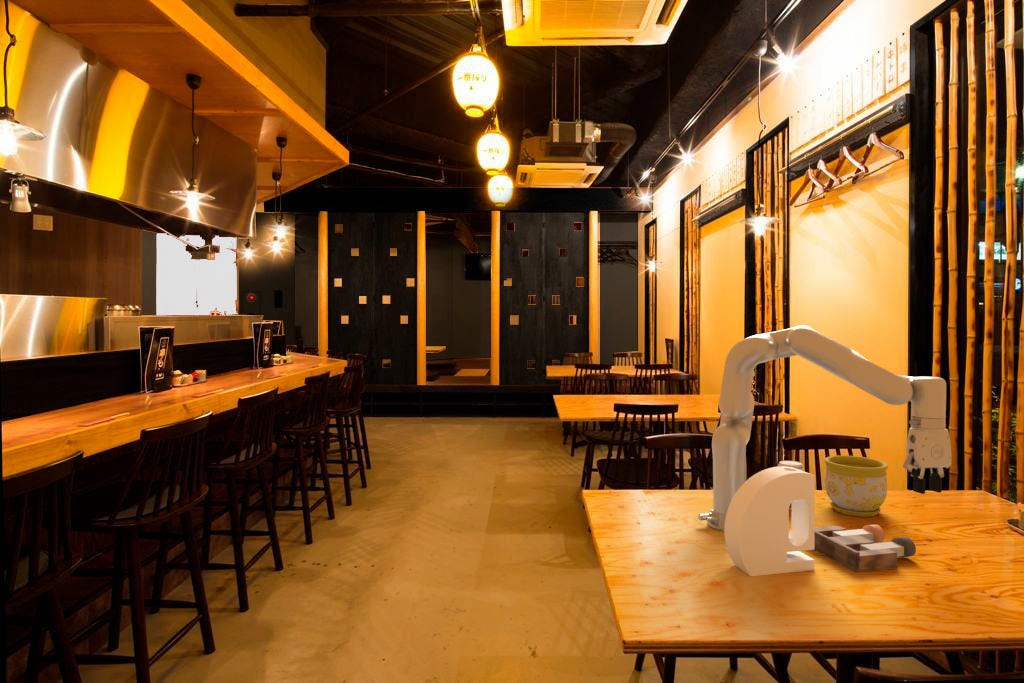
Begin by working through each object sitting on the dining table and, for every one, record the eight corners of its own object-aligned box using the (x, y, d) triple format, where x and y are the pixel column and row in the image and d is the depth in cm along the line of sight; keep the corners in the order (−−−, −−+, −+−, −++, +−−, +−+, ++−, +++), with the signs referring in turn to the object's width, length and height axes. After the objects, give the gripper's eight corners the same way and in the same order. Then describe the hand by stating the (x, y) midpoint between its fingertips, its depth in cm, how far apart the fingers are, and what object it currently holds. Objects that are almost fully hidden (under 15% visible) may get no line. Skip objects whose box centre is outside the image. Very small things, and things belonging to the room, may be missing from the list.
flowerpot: (811, 506, 198) (812, 458, 198) (848, 499, 205) (849, 453, 205) (862, 523, 182) (862, 470, 181) (900, 515, 189) (900, 464, 188)
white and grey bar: (872, 563, 150) (873, 545, 150) (858, 556, 155) (858, 538, 155) (915, 559, 153) (916, 540, 153) (900, 552, 158) (900, 534, 157)
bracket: (814, 570, 148) (815, 471, 147) (739, 577, 144) (739, 475, 143) (796, 560, 155) (797, 465, 154) (723, 566, 151) (724, 469, 150)
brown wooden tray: (855, 572, 146) (856, 552, 146) (801, 542, 166) (801, 525, 166) (896, 568, 149) (897, 548, 149) (838, 539, 168) (838, 522, 168)
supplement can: (808, 510, 194) (809, 465, 193) (783, 510, 194) (783, 465, 193) (797, 503, 202) (797, 460, 201) (773, 503, 202) (773, 460, 202)
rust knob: (843, 548, 160) (843, 531, 160) (830, 542, 165) (830, 525, 165) (884, 544, 163) (884, 527, 163) (870, 538, 167) (870, 522, 167)
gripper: (913, 427, 150) (912, 498, 150) (968, 424, 153) (966, 493, 154) (889, 422, 157) (888, 490, 158) (941, 419, 161) (940, 486, 161)
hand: (927, 491), depth 156 cm, fingers open, 4 cm apart
